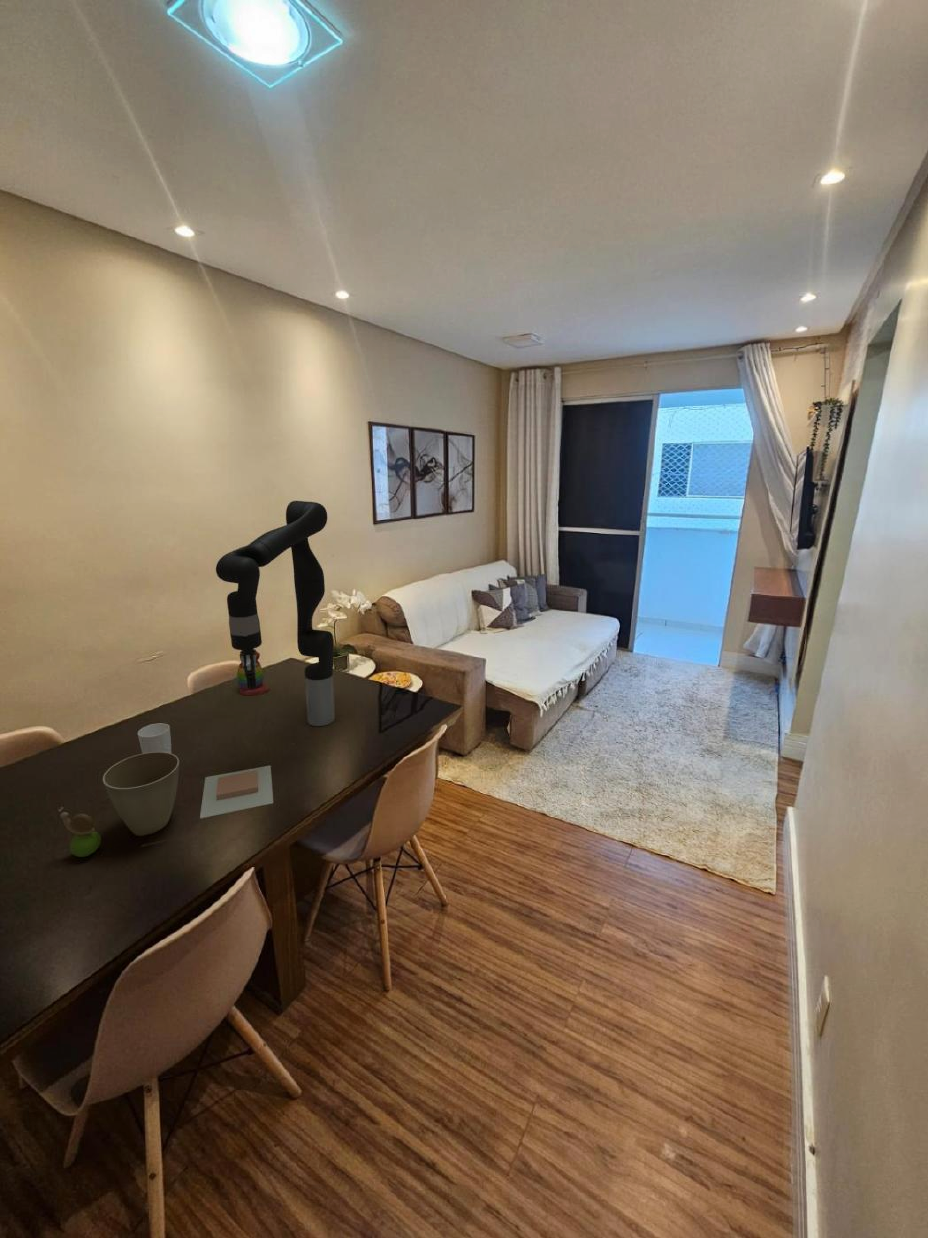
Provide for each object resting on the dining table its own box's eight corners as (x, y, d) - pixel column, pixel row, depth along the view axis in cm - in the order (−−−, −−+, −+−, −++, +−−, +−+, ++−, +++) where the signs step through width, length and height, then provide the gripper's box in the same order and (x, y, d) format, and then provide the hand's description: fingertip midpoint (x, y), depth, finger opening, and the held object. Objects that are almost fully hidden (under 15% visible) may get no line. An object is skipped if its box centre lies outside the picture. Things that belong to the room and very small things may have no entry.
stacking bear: (271, 691, 189) (268, 649, 184) (245, 698, 182) (241, 655, 177) (259, 682, 196) (255, 641, 191) (234, 689, 189) (229, 647, 184)
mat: (205, 779, 135) (205, 777, 134) (270, 767, 141) (270, 765, 141) (200, 820, 119) (199, 818, 119) (273, 804, 125) (273, 803, 125)
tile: (218, 777, 132) (216, 795, 125) (257, 770, 136) (257, 787, 129) (218, 782, 132) (216, 800, 125) (257, 775, 136) (258, 792, 129)
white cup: (179, 756, 144) (175, 727, 141) (154, 770, 137) (149, 739, 135) (162, 750, 147) (158, 720, 145) (136, 762, 141) (131, 732, 138)
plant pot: (133, 858, 107) (122, 797, 102) (102, 831, 114) (90, 773, 109) (199, 820, 119) (191, 764, 114) (167, 798, 126) (158, 744, 122)
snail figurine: (78, 844, 110) (68, 800, 106) (108, 844, 110) (98, 799, 107) (61, 863, 104) (50, 817, 101) (92, 862, 105) (82, 816, 102)
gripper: (230, 623, 133) (237, 679, 139) (229, 639, 122) (237, 700, 128) (259, 620, 136) (265, 675, 142) (260, 636, 125) (267, 695, 130)
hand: (252, 687), depth 135 cm, fingers closed
